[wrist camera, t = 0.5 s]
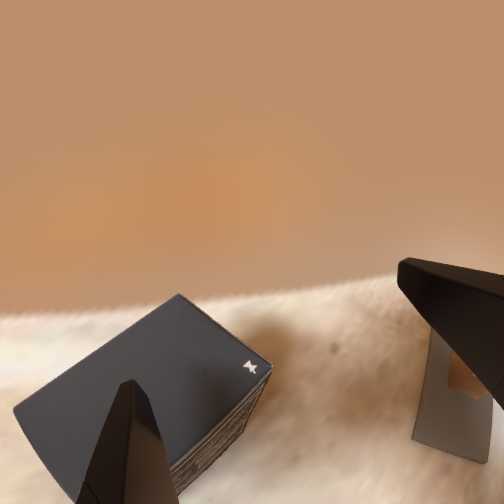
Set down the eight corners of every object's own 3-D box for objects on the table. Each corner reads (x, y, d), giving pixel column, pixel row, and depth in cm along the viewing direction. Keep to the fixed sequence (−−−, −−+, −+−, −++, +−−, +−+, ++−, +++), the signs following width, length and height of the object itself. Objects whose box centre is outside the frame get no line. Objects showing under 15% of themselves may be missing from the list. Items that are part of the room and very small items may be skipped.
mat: (483, 463, 17) (487, 462, 17) (411, 438, 20) (414, 437, 19) (488, 330, 31) (490, 327, 31) (434, 300, 34) (436, 297, 33)
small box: (180, 375, 22) (179, 283, 15) (245, 430, 19) (284, 364, 13) (77, 456, 15) (4, 401, 8) (142, 526, 12) (100, 535, 6)
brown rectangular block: (477, 402, 22) (532, 356, 17) (447, 388, 23) (501, 338, 18) (479, 368, 25) (526, 322, 20) (450, 354, 27) (497, 303, 22)
